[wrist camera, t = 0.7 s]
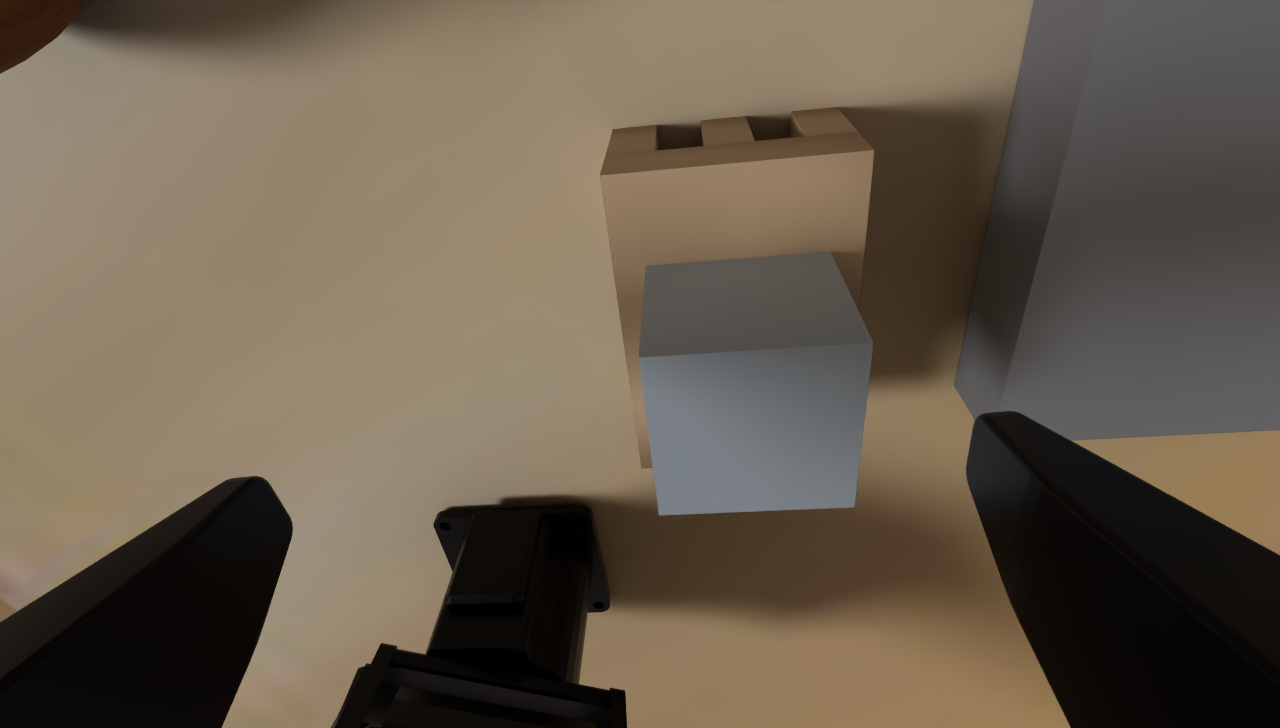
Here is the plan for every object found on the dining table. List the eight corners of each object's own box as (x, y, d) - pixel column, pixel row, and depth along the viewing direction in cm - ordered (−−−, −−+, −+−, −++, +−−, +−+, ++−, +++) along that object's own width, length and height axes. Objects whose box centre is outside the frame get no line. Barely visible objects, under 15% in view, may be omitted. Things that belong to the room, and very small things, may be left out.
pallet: (819, 378, 22) (844, 458, 19) (646, 389, 23) (641, 468, 20) (835, 106, 17) (874, 150, 14) (613, 128, 18) (599, 175, 14)
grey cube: (820, 398, 18) (854, 507, 14) (661, 407, 18) (659, 515, 15) (830, 251, 15) (873, 342, 12) (645, 265, 16) (638, 357, 12)
